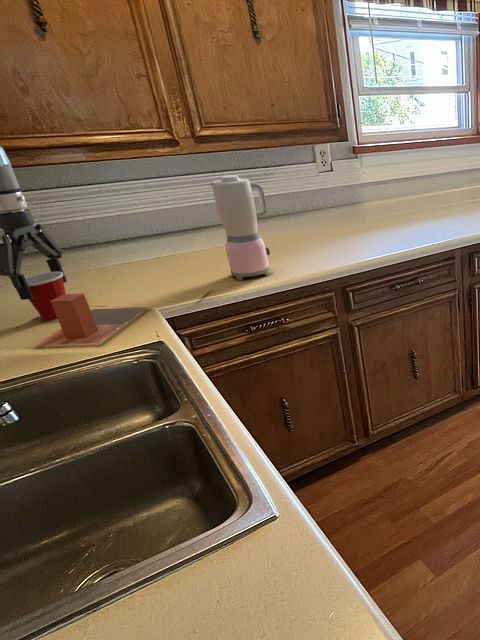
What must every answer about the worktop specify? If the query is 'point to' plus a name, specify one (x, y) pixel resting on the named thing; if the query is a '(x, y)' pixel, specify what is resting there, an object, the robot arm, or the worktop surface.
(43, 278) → the plastic cup
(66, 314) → the terracotta block
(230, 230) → the blender
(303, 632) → the worktop surface
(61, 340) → the sorting board
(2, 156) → the robot arm
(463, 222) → the worktop surface
